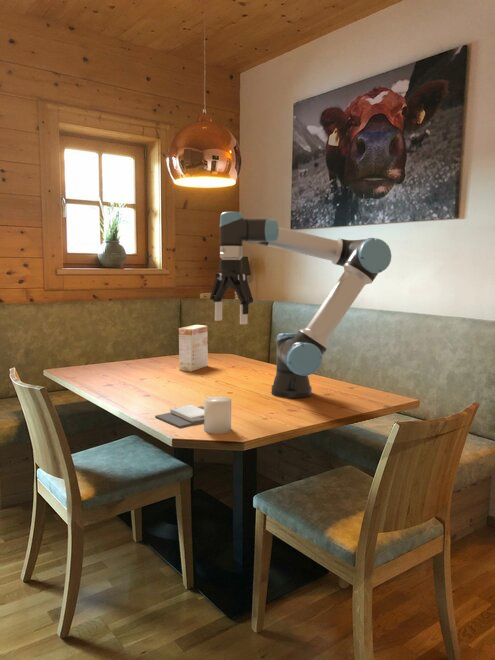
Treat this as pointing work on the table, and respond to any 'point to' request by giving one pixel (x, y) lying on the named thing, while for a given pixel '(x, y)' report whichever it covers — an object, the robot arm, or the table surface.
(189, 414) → the hard drive
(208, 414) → the cream rounded cylinder
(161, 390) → the table surface
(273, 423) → the table surface
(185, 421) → the mat
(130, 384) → the table surface
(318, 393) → the table surface
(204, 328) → the coffeecake box
